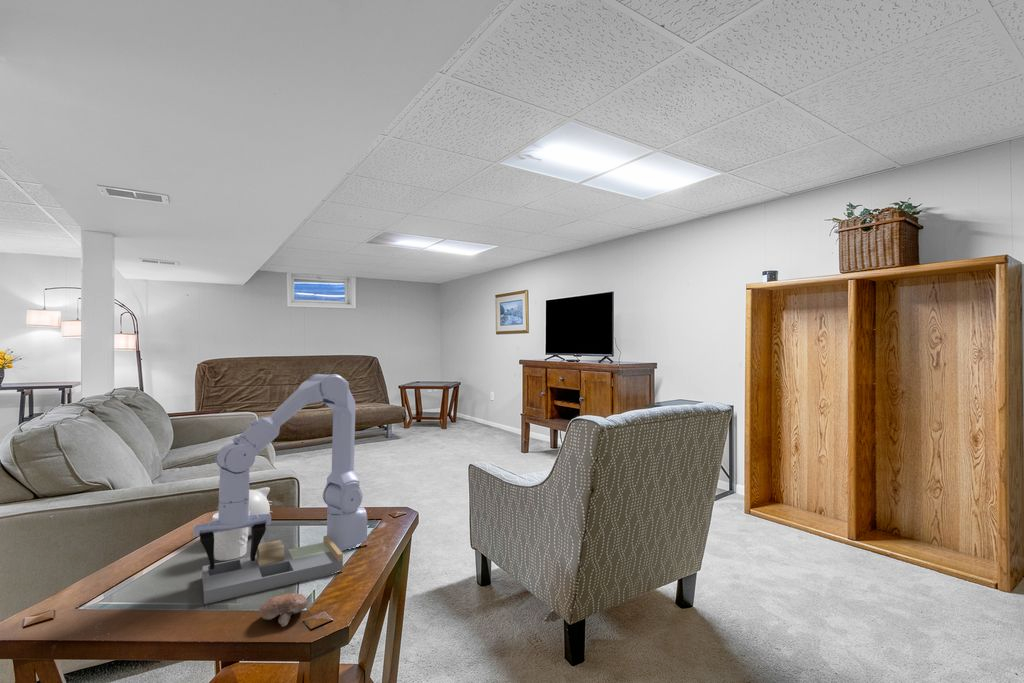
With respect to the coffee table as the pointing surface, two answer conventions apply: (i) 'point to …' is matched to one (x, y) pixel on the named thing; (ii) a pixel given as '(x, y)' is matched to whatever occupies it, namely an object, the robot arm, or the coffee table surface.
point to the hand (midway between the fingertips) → (232, 563)
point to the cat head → (258, 502)
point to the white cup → (230, 542)
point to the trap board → (270, 571)
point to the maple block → (270, 552)
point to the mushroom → (283, 607)
